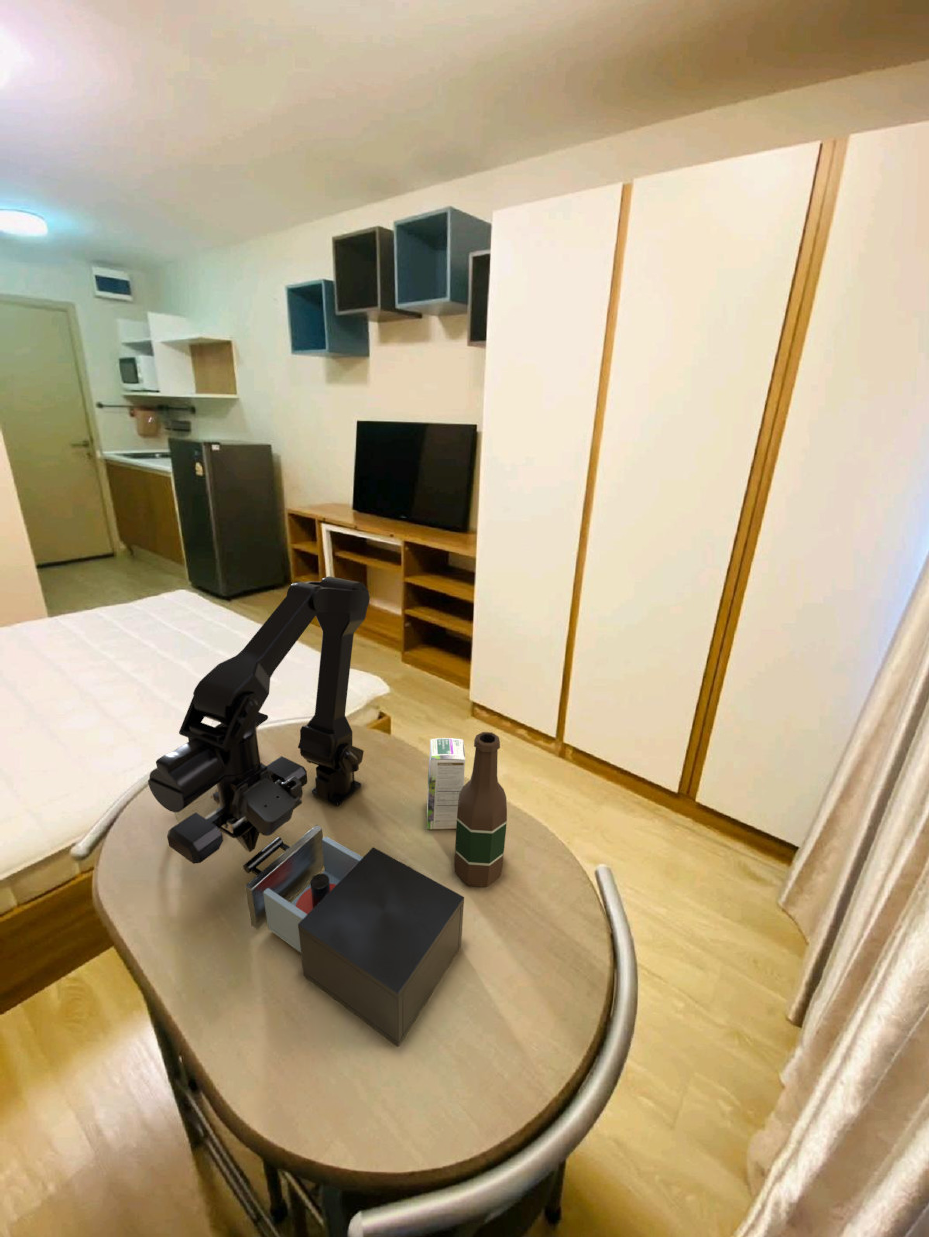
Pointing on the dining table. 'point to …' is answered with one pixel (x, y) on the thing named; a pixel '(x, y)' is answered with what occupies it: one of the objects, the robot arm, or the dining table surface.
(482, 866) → the beer bottle
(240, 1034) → the dining table surface
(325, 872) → the drawer
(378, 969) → the small cabinet
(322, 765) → the robot arm
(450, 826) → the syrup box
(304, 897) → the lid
